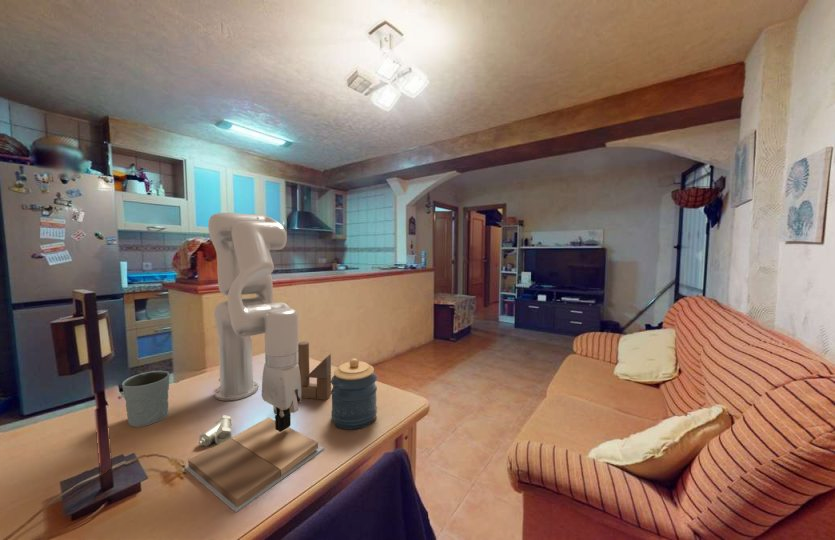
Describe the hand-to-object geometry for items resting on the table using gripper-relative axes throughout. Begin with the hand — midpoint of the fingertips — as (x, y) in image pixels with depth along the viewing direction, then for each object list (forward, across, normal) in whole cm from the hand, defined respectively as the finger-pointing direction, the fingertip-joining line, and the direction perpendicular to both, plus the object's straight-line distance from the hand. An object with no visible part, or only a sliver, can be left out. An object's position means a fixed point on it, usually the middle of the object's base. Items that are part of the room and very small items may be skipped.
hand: (283, 428), depth 78 cm
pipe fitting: (+4, -16, -8) cm, 18 cm away
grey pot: (+5, -41, -14) cm, 44 cm away
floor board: (+3, +1, -13) cm, 13 cm away
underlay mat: (+4, +1, -7) cm, 8 cm away
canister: (+4, +8, +18) cm, 20 cm away
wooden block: (+4, -12, +20) cm, 24 cm away
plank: (+3, +1, -3) cm, 4 cm away
